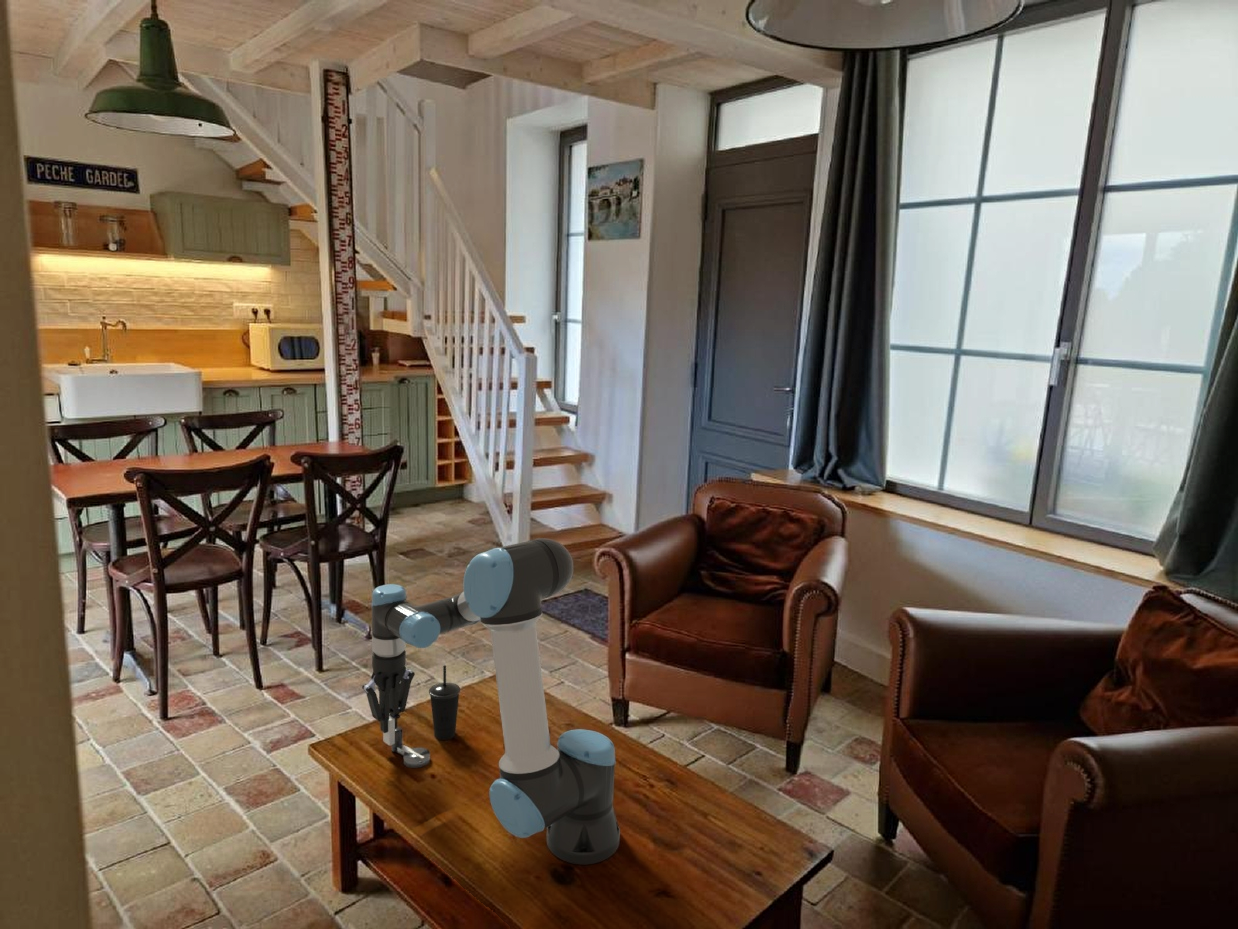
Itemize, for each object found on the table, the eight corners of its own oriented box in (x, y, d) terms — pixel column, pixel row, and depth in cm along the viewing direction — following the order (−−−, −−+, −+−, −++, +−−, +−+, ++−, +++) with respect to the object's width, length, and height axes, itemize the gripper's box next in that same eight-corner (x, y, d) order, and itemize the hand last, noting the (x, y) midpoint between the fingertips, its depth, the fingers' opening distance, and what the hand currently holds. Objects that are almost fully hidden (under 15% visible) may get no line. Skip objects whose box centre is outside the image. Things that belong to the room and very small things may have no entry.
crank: (435, 759, 188) (435, 738, 187) (415, 771, 183) (415, 749, 182) (403, 743, 194) (403, 722, 193) (383, 753, 189) (383, 733, 188)
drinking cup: (426, 735, 201) (425, 661, 197) (456, 729, 204) (456, 657, 200) (432, 750, 194) (432, 675, 190) (463, 744, 197) (463, 670, 193)
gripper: (403, 637, 191) (403, 726, 196) (355, 653, 182) (355, 746, 187) (422, 648, 187) (421, 738, 191) (372, 664, 177) (373, 759, 182)
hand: (388, 742), depth 189 cm, fingers closed
